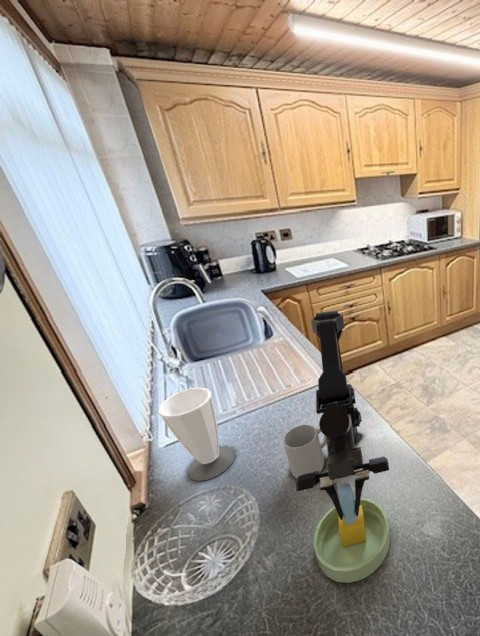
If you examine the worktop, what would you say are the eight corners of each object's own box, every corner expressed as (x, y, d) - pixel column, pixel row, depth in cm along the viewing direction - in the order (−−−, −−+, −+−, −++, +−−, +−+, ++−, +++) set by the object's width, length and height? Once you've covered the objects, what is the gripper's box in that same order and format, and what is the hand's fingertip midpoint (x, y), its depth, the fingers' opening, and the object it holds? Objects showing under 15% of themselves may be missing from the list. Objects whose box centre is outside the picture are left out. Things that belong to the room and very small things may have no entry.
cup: (217, 442, 102) (193, 382, 93) (244, 454, 97) (221, 393, 88) (178, 472, 93) (146, 409, 83) (205, 487, 88) (175, 422, 79)
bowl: (346, 501, 83) (343, 488, 81) (402, 525, 77) (401, 512, 75) (302, 564, 71) (297, 551, 69) (365, 598, 65) (362, 585, 63)
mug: (304, 485, 87) (295, 454, 83) (284, 470, 92) (275, 439, 87) (341, 454, 96) (334, 424, 91) (321, 441, 101) (314, 412, 96)
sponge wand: (341, 525, 77) (331, 481, 71) (364, 519, 78) (356, 476, 72) (342, 547, 73) (331, 503, 66) (366, 541, 74) (358, 497, 67)
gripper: (286, 448, 66) (293, 540, 62) (383, 428, 70) (397, 513, 65) (298, 447, 77) (305, 526, 72) (382, 430, 80) (393, 504, 76)
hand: (349, 517), depth 71 cm, fingers closed on sponge wand, 3 cm apart
